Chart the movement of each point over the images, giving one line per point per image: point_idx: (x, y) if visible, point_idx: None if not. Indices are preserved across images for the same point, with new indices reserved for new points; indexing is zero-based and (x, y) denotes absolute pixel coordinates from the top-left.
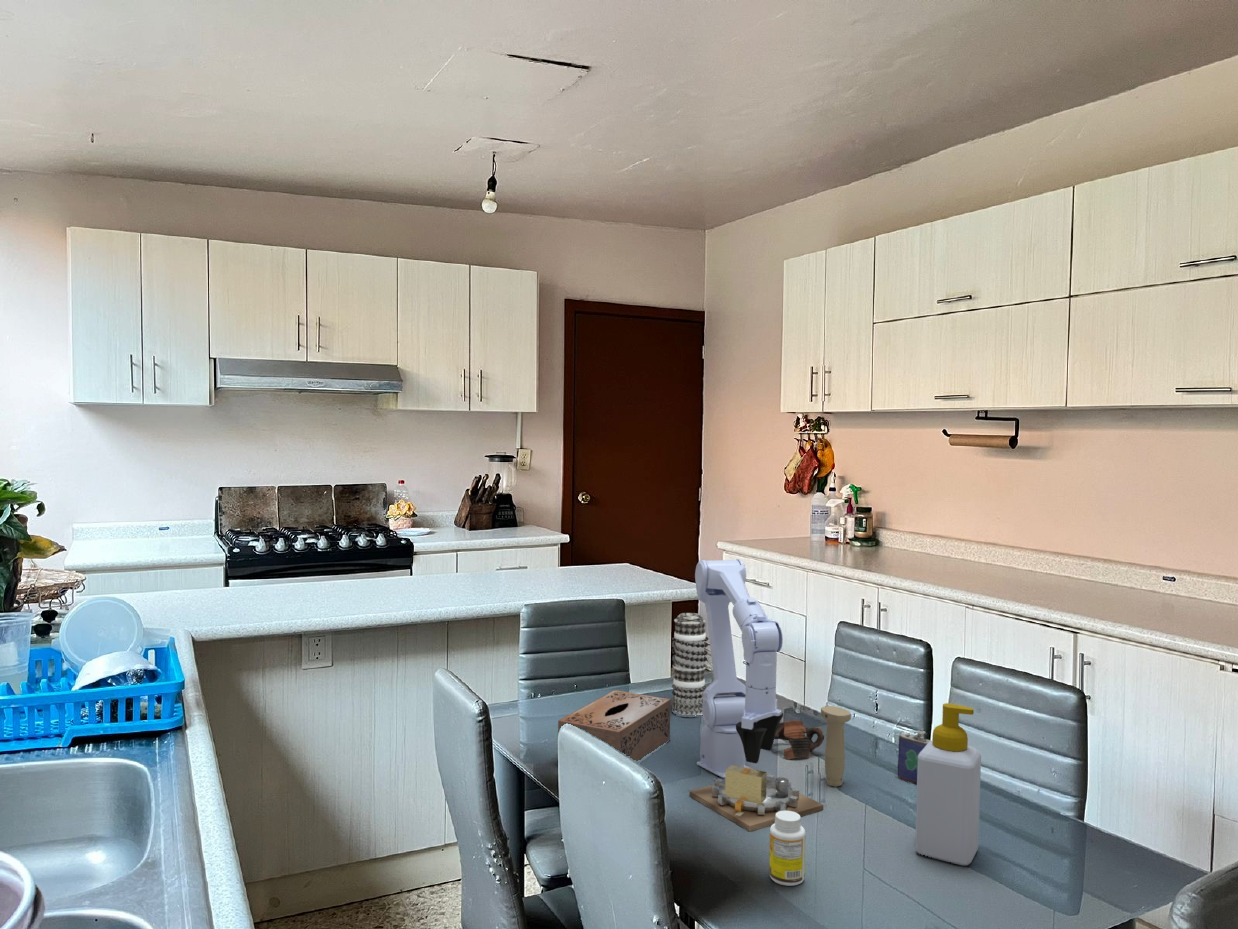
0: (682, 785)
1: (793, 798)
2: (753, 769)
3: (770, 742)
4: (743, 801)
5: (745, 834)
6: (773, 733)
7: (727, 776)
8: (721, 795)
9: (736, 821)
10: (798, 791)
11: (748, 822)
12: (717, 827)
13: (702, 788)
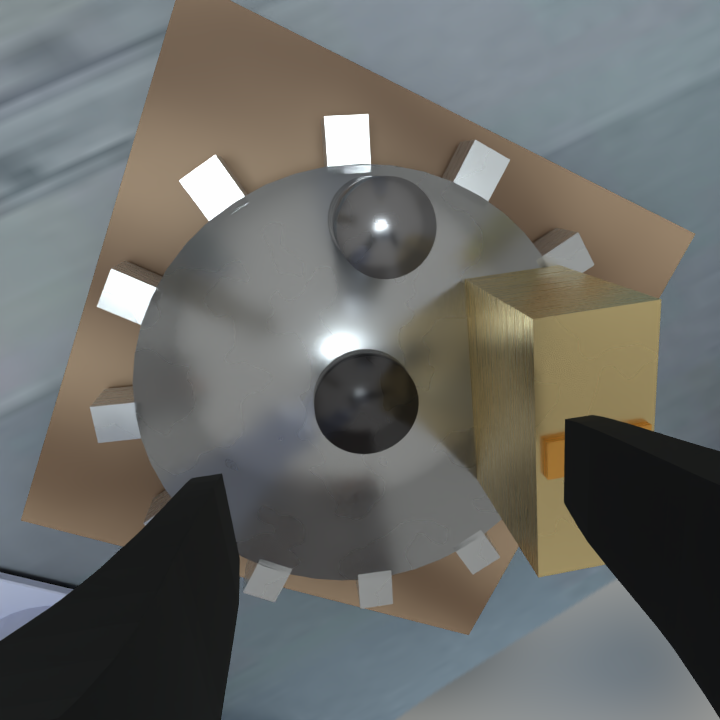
0: (373, 692)
1: (365, 132)
2: (537, 424)
3: (211, 522)
4: None
5: (709, 235)
6: (177, 570)
7: None
8: None
9: None
10: (218, 160)
11: (662, 259)
12: (694, 371)
13: (410, 613)
